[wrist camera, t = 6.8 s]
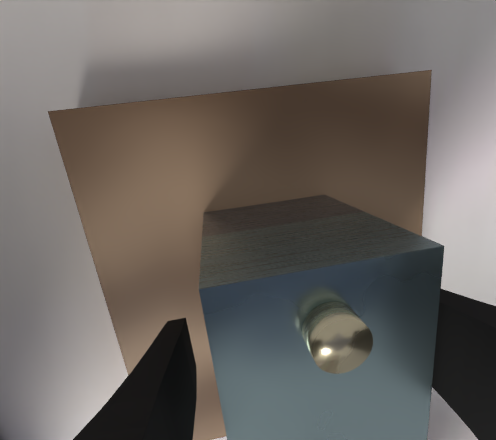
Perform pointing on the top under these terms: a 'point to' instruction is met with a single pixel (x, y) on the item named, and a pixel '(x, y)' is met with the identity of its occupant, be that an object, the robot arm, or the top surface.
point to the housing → (319, 321)
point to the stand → (229, 186)
